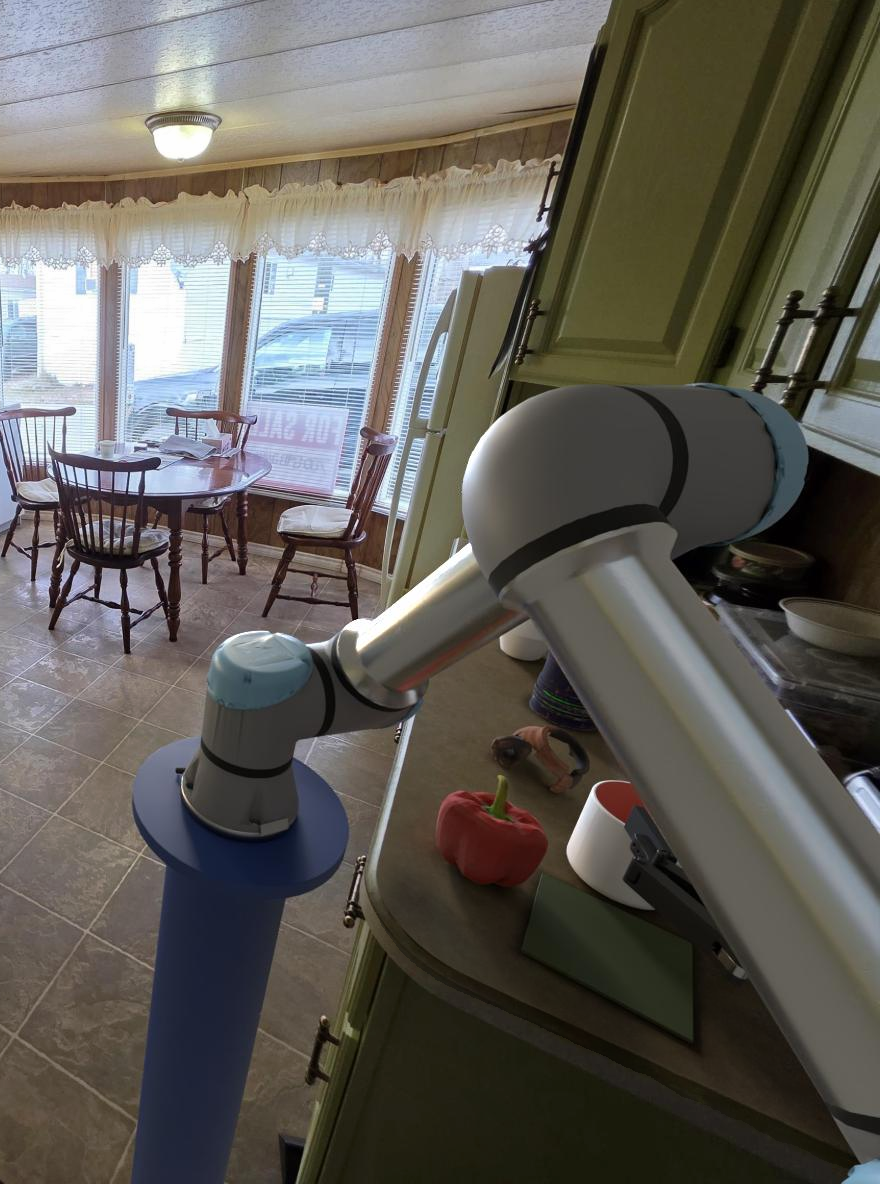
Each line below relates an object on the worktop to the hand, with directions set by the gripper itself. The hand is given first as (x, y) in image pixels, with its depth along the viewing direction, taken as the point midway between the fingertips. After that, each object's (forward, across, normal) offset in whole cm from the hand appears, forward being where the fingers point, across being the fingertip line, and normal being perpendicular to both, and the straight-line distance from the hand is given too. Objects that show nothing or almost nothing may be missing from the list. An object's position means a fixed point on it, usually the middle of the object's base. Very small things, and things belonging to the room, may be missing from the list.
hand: (721, 835), depth 58 cm
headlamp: (+28, -4, -16) cm, 32 cm away
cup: (+10, 0, -16) cm, 19 cm away
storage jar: (+47, +6, -16) cm, 50 cm away
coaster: (-1, -5, -16) cm, 16 cm away
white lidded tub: (+68, +5, -15) cm, 69 cm away
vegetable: (+6, -15, -16) cm, 23 cm away
